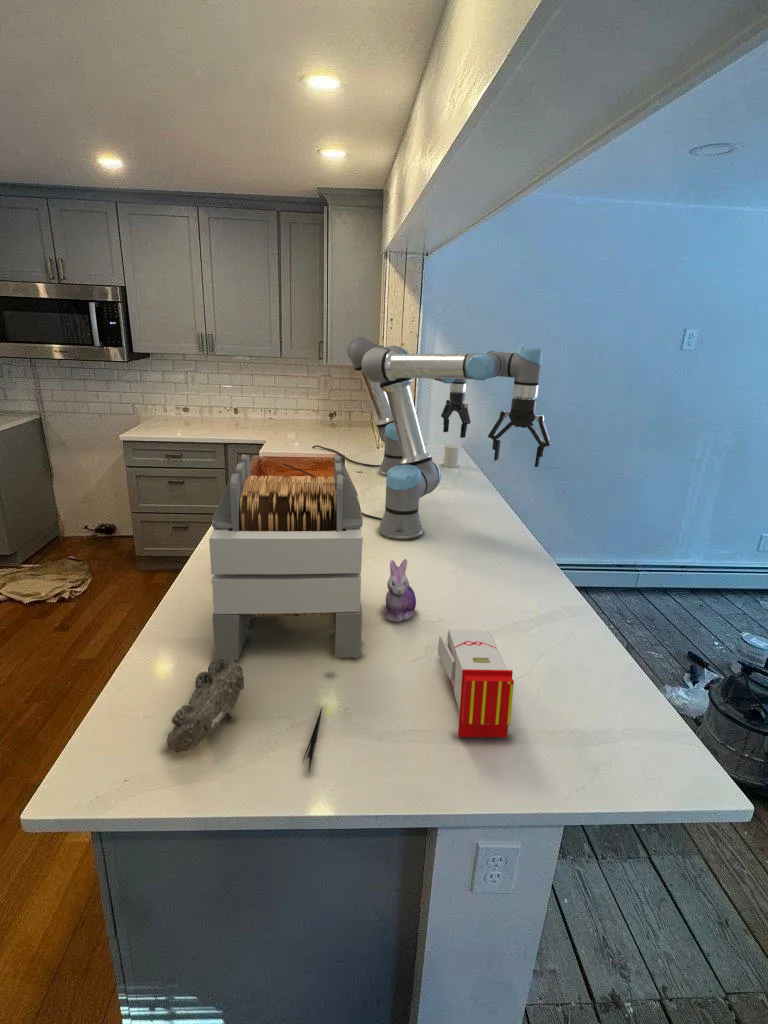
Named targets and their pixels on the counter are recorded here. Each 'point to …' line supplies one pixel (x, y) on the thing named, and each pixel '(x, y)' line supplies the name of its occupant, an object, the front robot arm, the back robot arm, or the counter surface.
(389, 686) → the counter surface
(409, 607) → the figurine
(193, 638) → the counter surface
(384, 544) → the counter surface
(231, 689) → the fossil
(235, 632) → the grey record crate stand
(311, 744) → the feather
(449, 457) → the canister
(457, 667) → the toy
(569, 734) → the counter surface
